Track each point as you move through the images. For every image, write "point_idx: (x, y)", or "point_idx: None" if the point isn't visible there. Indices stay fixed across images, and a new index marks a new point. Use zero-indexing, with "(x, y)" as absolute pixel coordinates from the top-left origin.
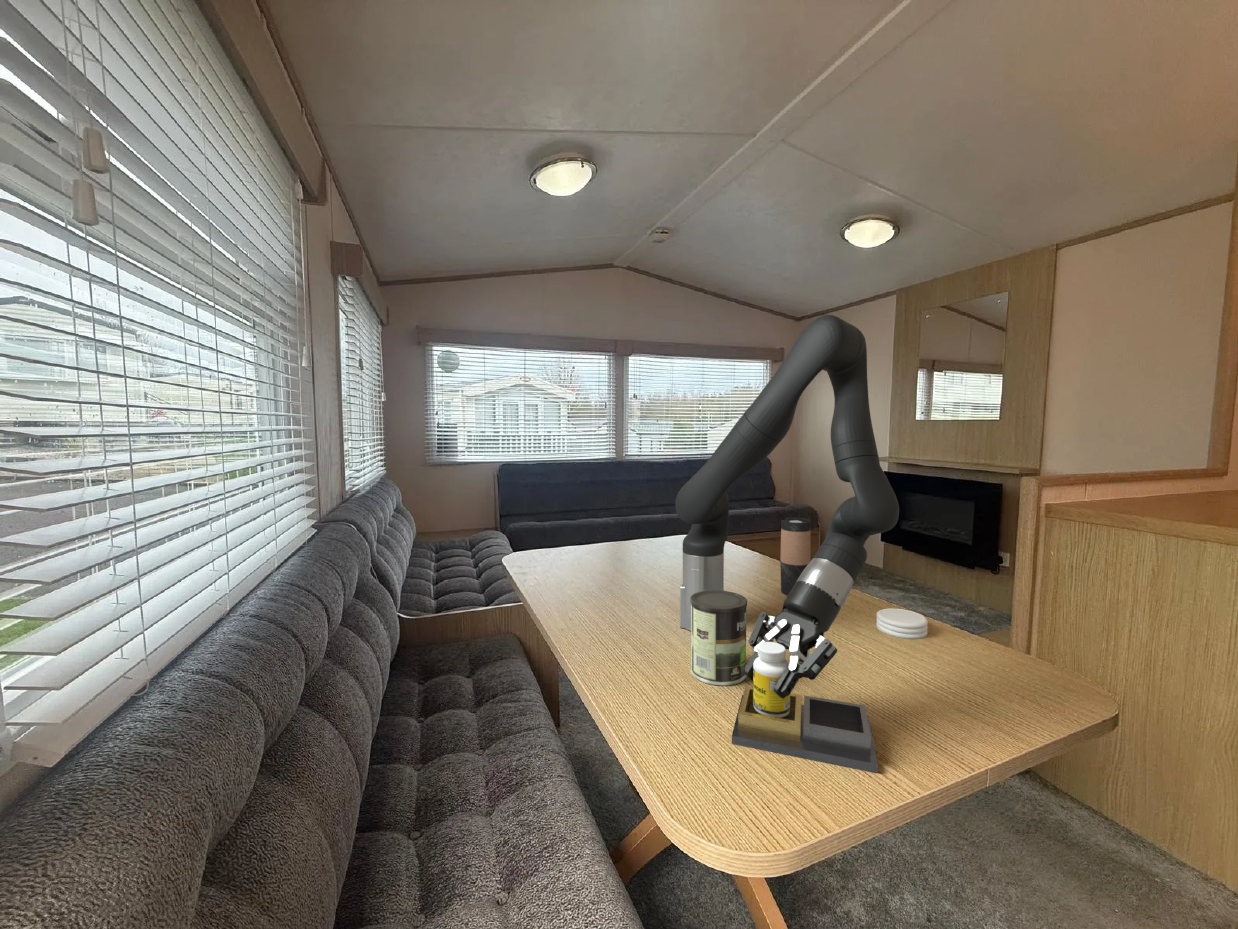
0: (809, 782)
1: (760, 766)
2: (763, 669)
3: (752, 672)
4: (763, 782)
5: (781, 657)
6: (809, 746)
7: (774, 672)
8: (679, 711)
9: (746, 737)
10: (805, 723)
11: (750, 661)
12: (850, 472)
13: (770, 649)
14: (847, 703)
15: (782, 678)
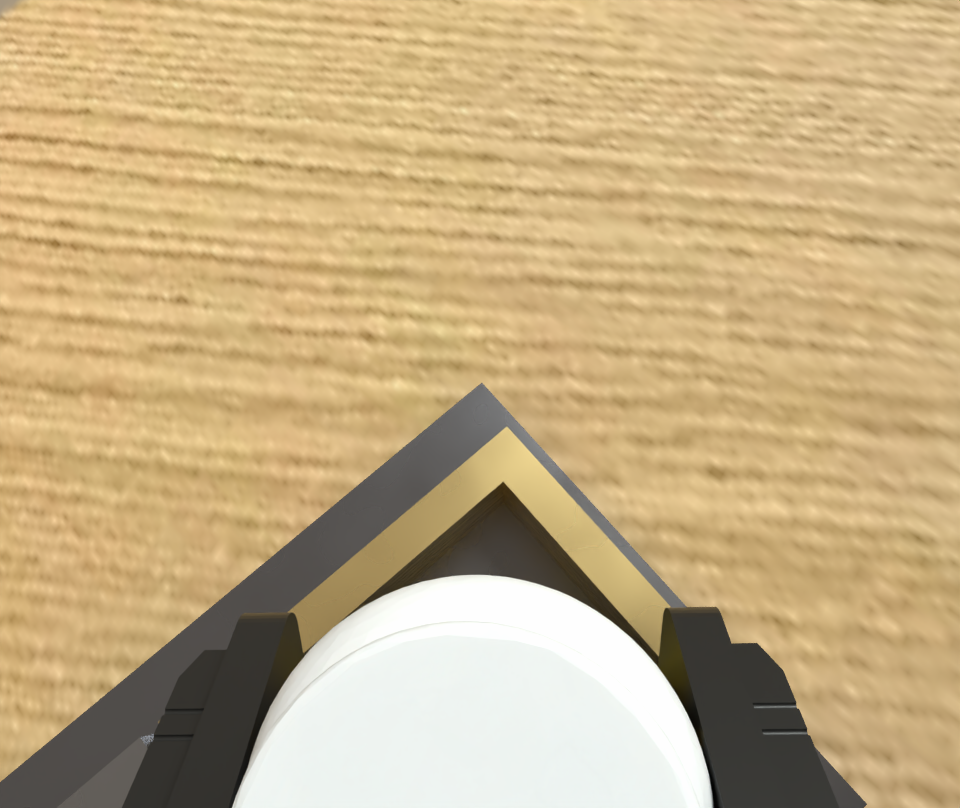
0: (27, 529)
1: (258, 401)
2: (406, 591)
3: (673, 684)
4: (168, 332)
5: None
6: (138, 725)
7: (292, 671)
8: (905, 335)
9: (423, 446)
10: None
11: (783, 738)
12: None
13: (405, 785)
14: None
15: (223, 723)
